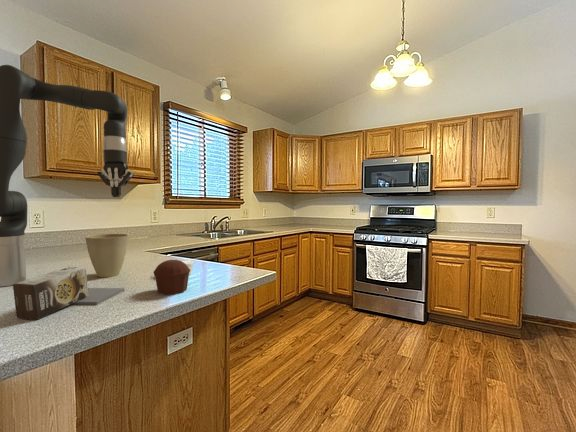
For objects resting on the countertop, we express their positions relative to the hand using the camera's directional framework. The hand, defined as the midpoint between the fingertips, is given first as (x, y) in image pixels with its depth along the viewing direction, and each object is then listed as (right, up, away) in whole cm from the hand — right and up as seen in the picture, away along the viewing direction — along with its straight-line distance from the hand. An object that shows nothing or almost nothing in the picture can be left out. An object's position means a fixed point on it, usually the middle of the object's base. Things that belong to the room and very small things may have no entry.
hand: (116, 197), depth 114 cm
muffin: (+26, -32, -13) cm, 43 cm away
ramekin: (+20, -31, +9) cm, 38 cm away
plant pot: (-8, -31, +8) cm, 33 cm away
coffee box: (+1, -26, -22) cm, 35 cm away
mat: (+2, -32, -20) cm, 37 cm away
